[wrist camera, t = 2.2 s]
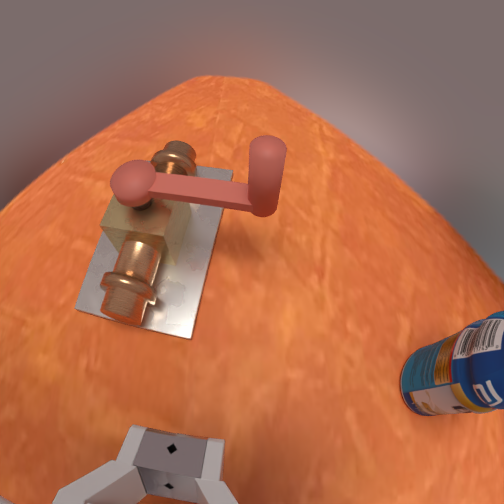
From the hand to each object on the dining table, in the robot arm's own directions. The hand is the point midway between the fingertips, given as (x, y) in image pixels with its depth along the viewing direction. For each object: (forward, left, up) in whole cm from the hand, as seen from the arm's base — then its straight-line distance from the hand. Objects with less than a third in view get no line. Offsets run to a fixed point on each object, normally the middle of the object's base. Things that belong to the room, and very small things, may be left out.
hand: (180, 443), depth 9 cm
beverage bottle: (+23, +2, -22) cm, 32 cm away
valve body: (-8, +20, -22) cm, 31 cm away
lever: (-3, +19, -12) cm, 23 cm away
